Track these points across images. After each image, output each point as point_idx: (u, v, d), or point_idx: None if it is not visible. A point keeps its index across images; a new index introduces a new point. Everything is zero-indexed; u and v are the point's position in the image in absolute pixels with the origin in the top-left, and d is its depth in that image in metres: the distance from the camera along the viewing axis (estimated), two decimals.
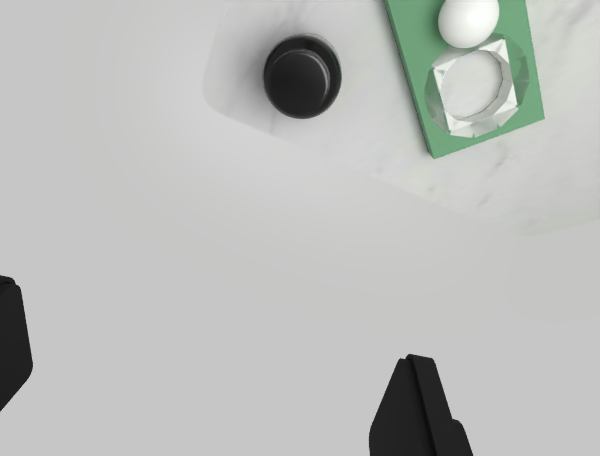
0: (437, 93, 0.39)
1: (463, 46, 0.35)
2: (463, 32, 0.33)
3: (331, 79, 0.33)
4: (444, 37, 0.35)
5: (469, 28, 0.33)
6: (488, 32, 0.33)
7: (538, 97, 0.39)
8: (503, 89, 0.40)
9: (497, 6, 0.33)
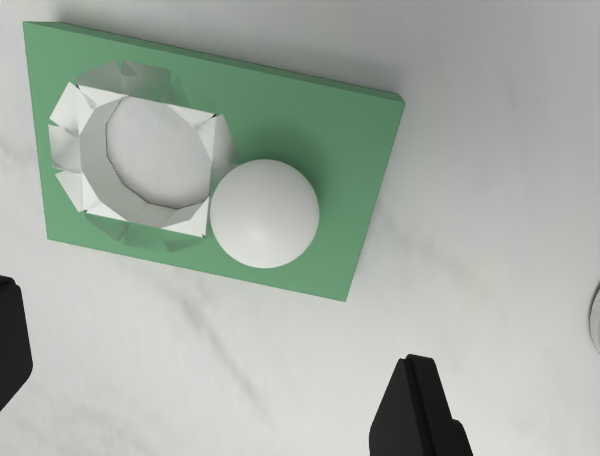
0: (164, 98, 0.18)
1: (219, 190, 0.17)
2: (242, 206, 0.16)
3: None
4: (255, 165, 0.17)
5: (242, 218, 0.16)
6: (219, 239, 0.17)
7: (87, 243, 0.22)
8: (126, 200, 0.23)
9: (253, 266, 0.18)
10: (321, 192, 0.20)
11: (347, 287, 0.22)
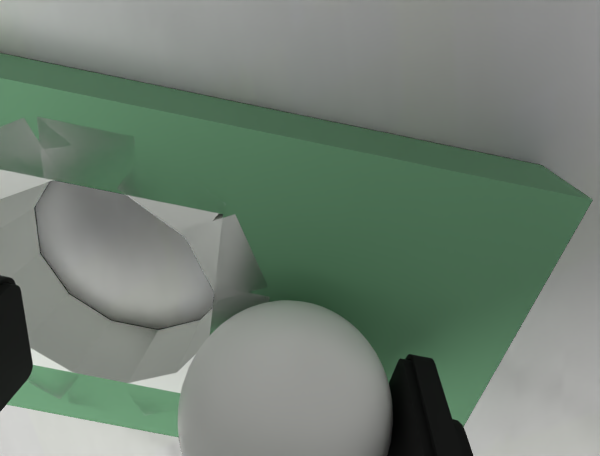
0: (124, 187, 0.10)
1: (195, 364, 0.09)
2: (218, 432, 0.07)
3: None
4: (267, 329, 0.08)
5: None
6: None
7: None
8: (73, 325, 0.14)
9: None
10: (408, 340, 0.11)
11: None
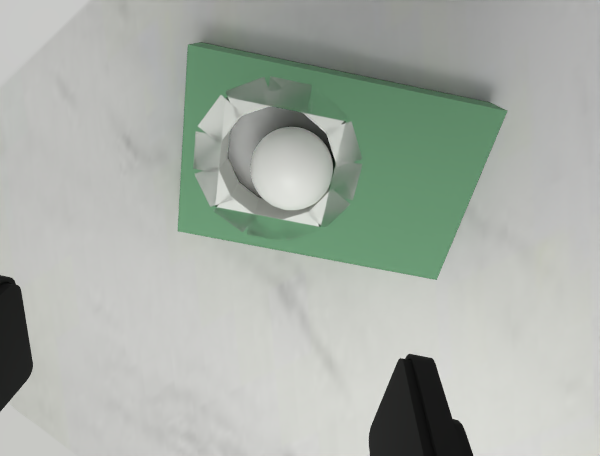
0: (302, 108, 0.22)
1: None
2: None
3: None
4: (307, 130, 0.23)
5: None
6: None
7: (213, 234, 0.26)
8: (246, 195, 0.26)
9: None
10: (427, 186, 0.23)
11: (439, 267, 0.26)
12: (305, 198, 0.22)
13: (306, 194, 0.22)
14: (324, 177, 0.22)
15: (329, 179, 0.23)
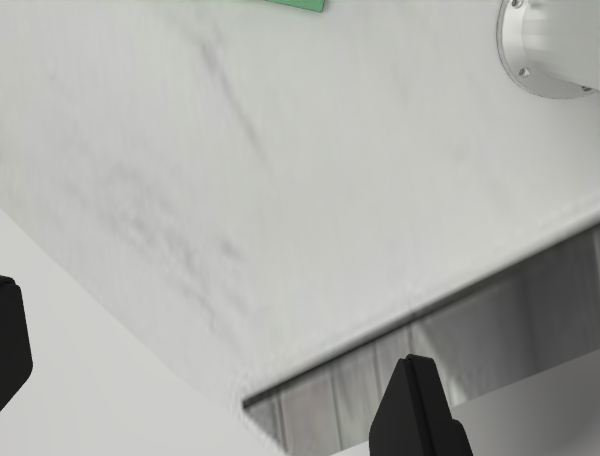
0: None
1: None
2: None
3: None
4: None
5: None
6: None
7: None
8: None
9: None
10: None
11: None
12: None
13: None
14: None
15: None
